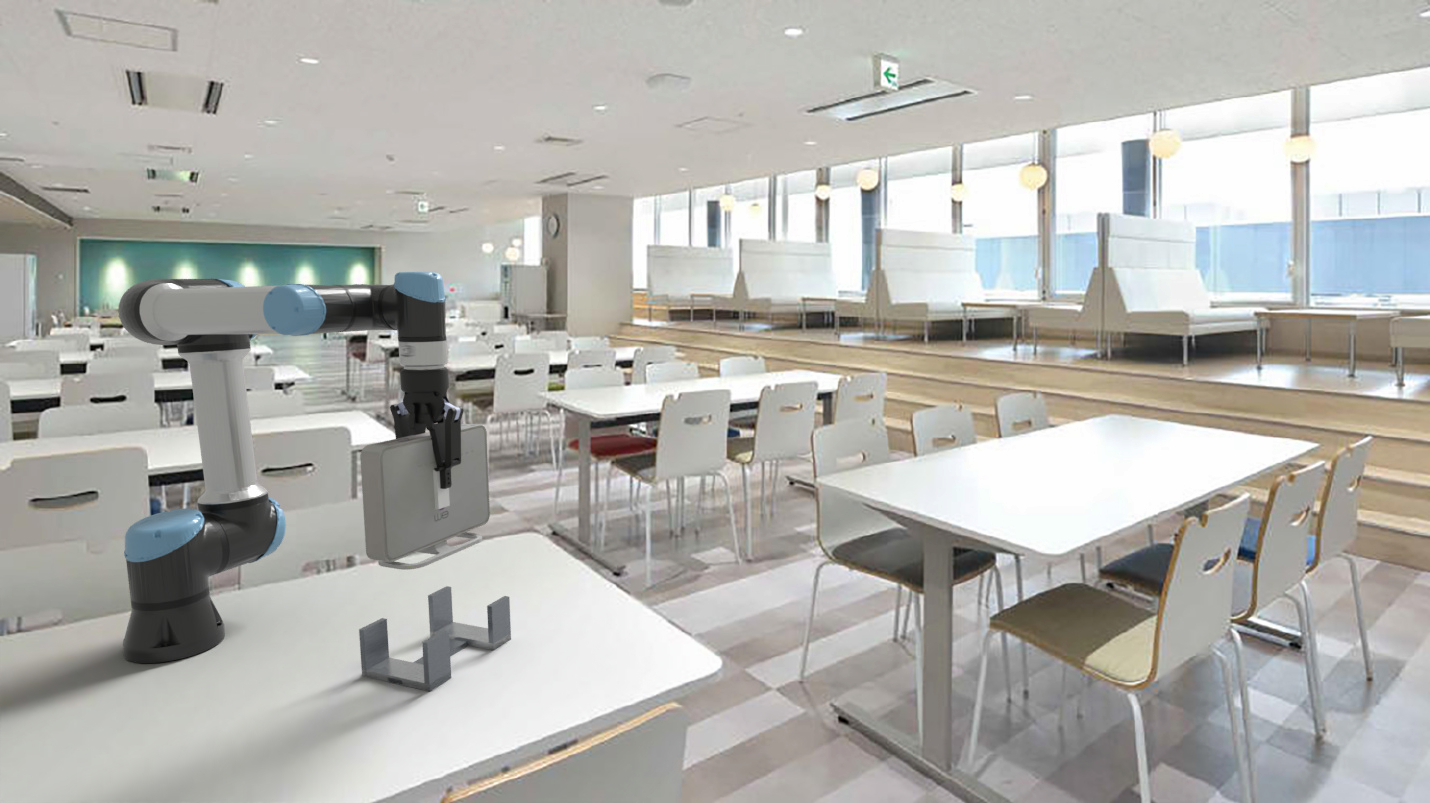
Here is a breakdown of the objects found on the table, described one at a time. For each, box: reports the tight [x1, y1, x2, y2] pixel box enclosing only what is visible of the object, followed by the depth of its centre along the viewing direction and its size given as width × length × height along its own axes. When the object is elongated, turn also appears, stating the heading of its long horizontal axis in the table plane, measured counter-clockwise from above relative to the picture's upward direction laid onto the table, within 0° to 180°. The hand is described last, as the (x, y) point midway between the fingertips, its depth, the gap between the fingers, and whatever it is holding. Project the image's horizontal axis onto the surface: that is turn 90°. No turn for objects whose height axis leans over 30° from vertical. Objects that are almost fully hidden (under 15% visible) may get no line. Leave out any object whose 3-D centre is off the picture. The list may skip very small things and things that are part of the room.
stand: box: [358, 585, 512, 692], centre depth 141 cm, size 14×21×8 cm, turn 158°
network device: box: [359, 423, 491, 571], centre depth 138 cm, size 26×9×20 cm, turn 158°
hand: (431, 505), depth 138 cm, fingers closed on network device, 4 cm apart
